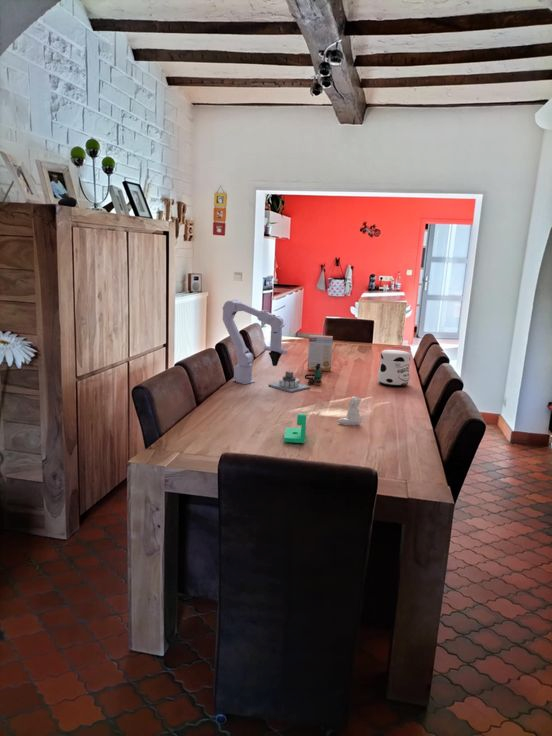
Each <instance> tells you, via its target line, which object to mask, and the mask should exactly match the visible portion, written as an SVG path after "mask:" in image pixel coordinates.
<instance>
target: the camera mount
mask: <svg viewBox="0 0 552 736" xmlns="http://www.w3.org/2000/svg"><path fill="white" fill-rule="evenodd" d="M296 418H297V420H296V425H297V426H301V427H285V431H284V436H283V441H284V442H285V443H295V444H296V443H297V444H299V443H301V444H305V442H306V432H307V431H306V430H307V414H306V413H297V417H296Z"/></svg>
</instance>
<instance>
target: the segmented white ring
mask: <svg viewBox="0 0 552 736" xmlns="http://www.w3.org/2000/svg"><path fill="white" fill-rule="evenodd" d="M295 378H296V377H295ZM278 382H279V385H280V386H281V387H285V388H296V387H298V386H299V384H300V379H299V378H296V380H295V381H285V380H283V377H280V378H279V380H278Z"/></svg>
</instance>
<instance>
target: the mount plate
mask: <svg viewBox="0 0 552 736" xmlns="http://www.w3.org/2000/svg"><path fill="white" fill-rule="evenodd" d="M270 386H271V387H270ZM268 387H270V388H273V387H274V388H273V389H277V388H278V389H277V390H280V389H281V390H282V391H285V392H287V391H288V393H291V394H292V393H297V392H301V391H303V390H304V389H305V390H308V388H309V389H310V386H308V385H305V384H301V383H299V386H298V387H296V388H285V387H281V386H280V385H279V381H278V382H273V383H268ZM300 390H301V391H300ZM305 390H304V391H305Z"/></svg>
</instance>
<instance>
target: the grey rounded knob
mask: <svg viewBox="0 0 552 736" xmlns="http://www.w3.org/2000/svg"><path fill="white" fill-rule="evenodd" d="M282 378H283V380H285V381H295V380H296V377H295V376H294V371H292V370H286V371H285V376H282Z"/></svg>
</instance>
